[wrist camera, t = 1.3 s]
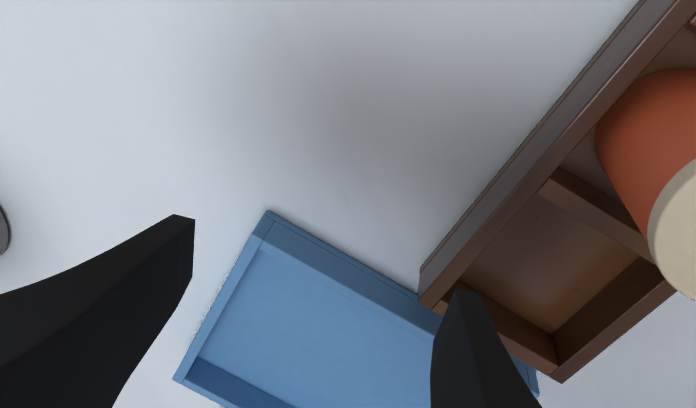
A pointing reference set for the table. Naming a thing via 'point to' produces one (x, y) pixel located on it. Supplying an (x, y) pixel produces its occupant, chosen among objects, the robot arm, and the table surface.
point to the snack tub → (657, 167)
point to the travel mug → (3, 234)
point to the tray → (313, 332)
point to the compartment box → (565, 216)
